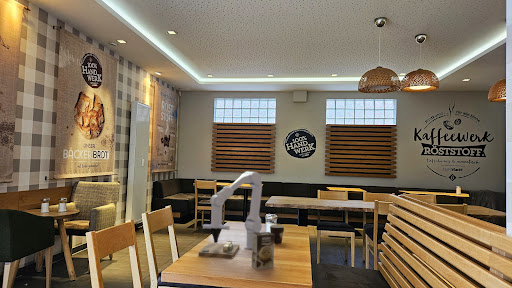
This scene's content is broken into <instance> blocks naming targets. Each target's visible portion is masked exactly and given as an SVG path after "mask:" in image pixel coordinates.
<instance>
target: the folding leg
mask: <svg viewBox="0 0 512 288" xmlns="http://www.w3.org/2000/svg"><path fill="white" fill-rule="evenodd" d="M224 244H225V245H224V246H223V251H228V246H229V245H230V244H233V241H232V240H227V241H226V243H224Z"/></svg>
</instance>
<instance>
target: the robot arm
mask: <svg viewBox="0 0 512 288" xmlns="http://www.w3.org/2000/svg"><path fill="white" fill-rule="evenodd" d="M244 184H248V185H249V186H251V188H252V189H251V190H252V192H251V198H250V209H249V214H248V215H247V217H246V220H245V222H244V228H245V230H246V241H245V242H246V245H245V246H244V249H247V250H248V249H249V250H252V246H253V233H261V231H262V228H263V226H262V218H261V217H260V211H261V210H260V208H261V200H262V192H263V191H262V190H263V183H262V176H261V174H260V173H259V172H257V171H249V170H246V171H244V172H243V173H242V174H241V175H240V176H239V177H238V178H237V179H236V180H235V181H234V182H232V183H231V184H230V185H226V186H223V187H222V189H221V190H219V191H218V192H216V194H213V195H212V196H211V197H210V199H209V203H210V204H211V211H210V212H211V217H210V220H211V221H210V224H207V223H205V224H202V229H210V233H211V235H212V238H213V243H218V242H219V237H220V235H221V232H222V231H223V230H224V231H225V230H227V231H230V228H231V225H224V224H222V223H223V218H222V217H223V206H224V204H225V202H226V201H227V199H229V198H230V197H231V196H233V194H234V191H235V190H237V189H238V188H239V187H240V186H242V185H244Z"/></svg>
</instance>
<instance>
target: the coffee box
mask: <svg viewBox="0 0 512 288" xmlns="http://www.w3.org/2000/svg"><path fill="white" fill-rule="evenodd" d="M274 237H275V234H273V233H271V232H269V231H263V232H261V231H260V233H253V246H252V249H251V250H252V251H251V255H252V256H251V267H252V268H254V269H255V270H257V271H258V270H267V269H268V270H269V269H274V266H275V265H274V264H275V263H274V262H275V244H274Z"/></svg>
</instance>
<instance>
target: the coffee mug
mask: <svg viewBox="0 0 512 288" xmlns="http://www.w3.org/2000/svg"><path fill="white" fill-rule="evenodd" d="M269 231H270V233H273V234H275V237H274V245H279V244H282V243H283V235H284V231H285V226H284V225H281V224H271V225H270V226H269Z"/></svg>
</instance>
